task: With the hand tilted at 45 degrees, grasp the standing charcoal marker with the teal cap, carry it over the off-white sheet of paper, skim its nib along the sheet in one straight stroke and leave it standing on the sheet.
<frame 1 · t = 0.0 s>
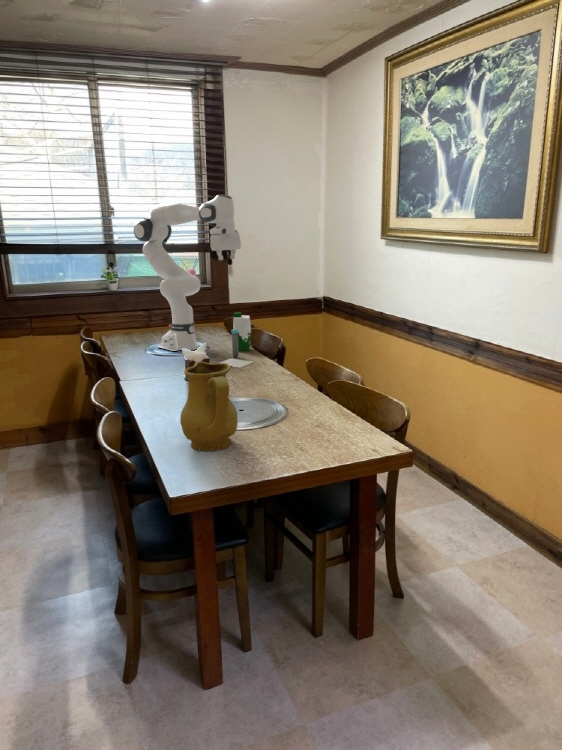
hand: (226, 259, 259), 48 cm above the table, tool pointing down, fingers open, 8 cm apart
paper: (235, 363, 255), on the table
milk carton: (242, 350, 283), on the table
pitcher: (210, 445, 161), on the table
marker: (235, 357, 267), on the table
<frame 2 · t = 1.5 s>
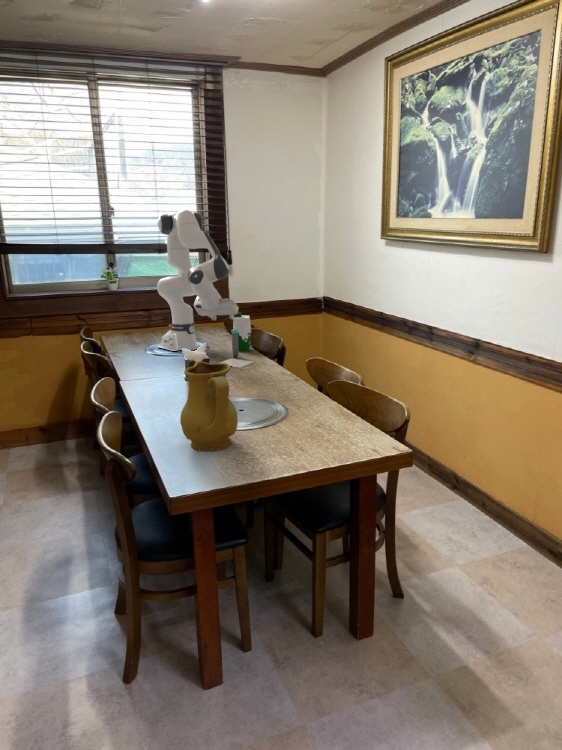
hand: (223, 318, 252), 21 cm above the table, tool tilted 45°, fingers open, 8 cm apart
nothing on the table moved.
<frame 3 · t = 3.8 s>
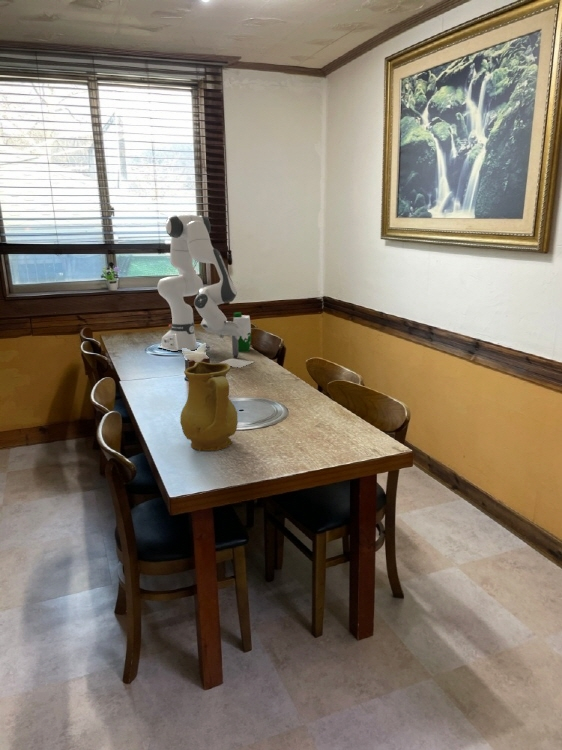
hand: (230, 337, 261), 11 cm above the table, tool tilted 45°, fingers open, 8 cm apart
nothing on the table moved.
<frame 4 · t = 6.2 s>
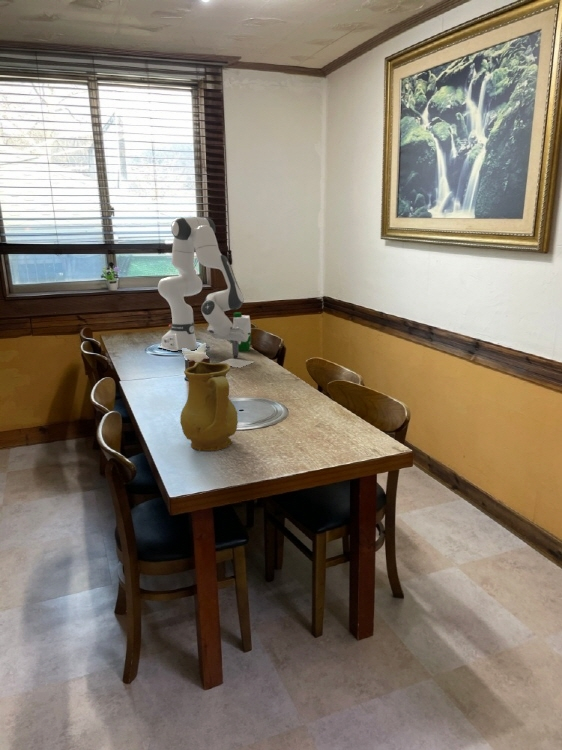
hand: (235, 342, 266), 7 cm above the table, tool tilted 45°, fingers closed on marker, 3 cm apart
marker: (235, 357, 267), on the table, touching gripper
everything else where it was.
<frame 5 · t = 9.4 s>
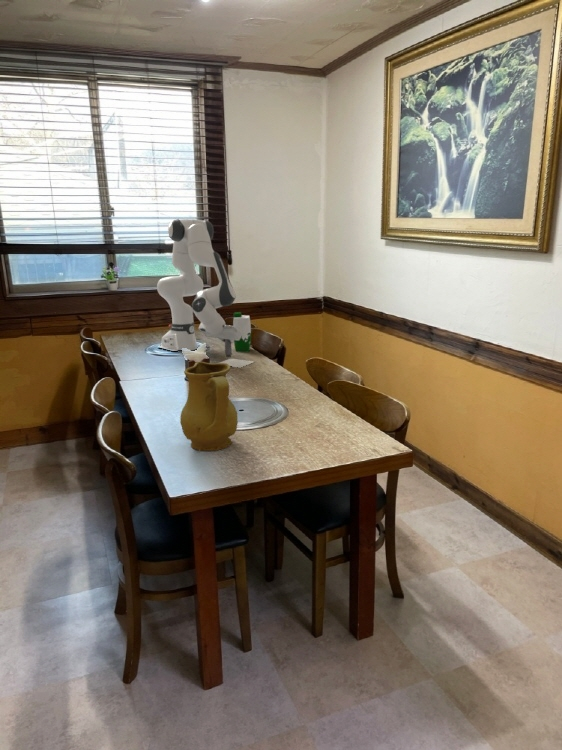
hand: (228, 341, 255), 10 cm above the table, tool tilted 45°, fingers closed on marker, 3 cm apart
marker: (228, 356, 257), point 3 cm above the table, touching gripper
everything else where it was.
when the fingers open (8 cm above the table, at t = 12.5 s): marker stays where it is, resting on paper.
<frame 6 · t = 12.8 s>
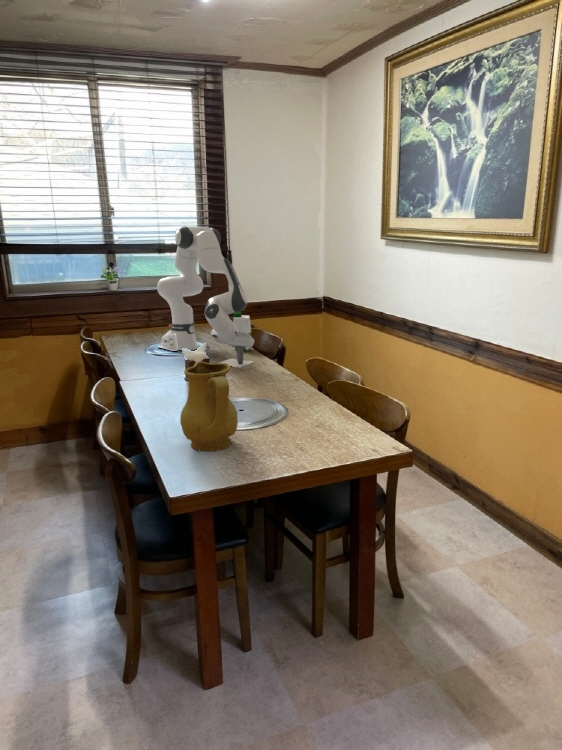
hand: (240, 347, 252), 8 cm above the table, tool tilted 45°, fingers open, 6 cm apart
marker: (240, 363, 254), resting on paper
everything else where it was.
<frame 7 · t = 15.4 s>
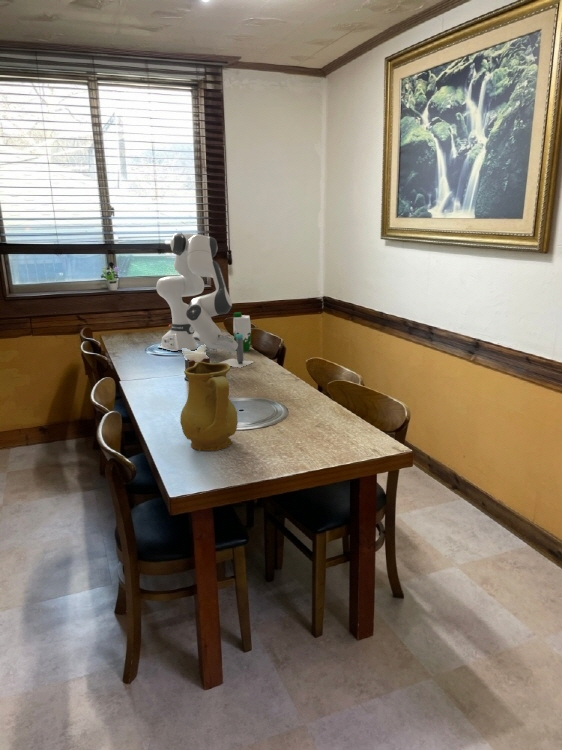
hand: (223, 351, 242), 9 cm above the table, tool tilted 45°, fingers open, 8 cm apart
nothing on the table moved.
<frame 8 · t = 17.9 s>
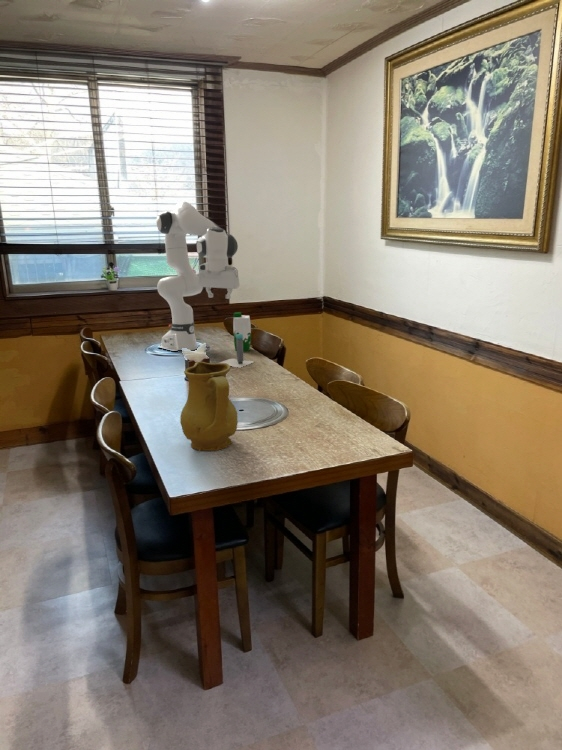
hand: (219, 298, 235), 33 cm above the table, tool pointing down, fingers open, 8 cm apart
nothing on the table moved.
at the end: marker inside the target area (2.9 cm from its centre), resting on paper; marker tilted 0°; the gripper is holding nothing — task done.
